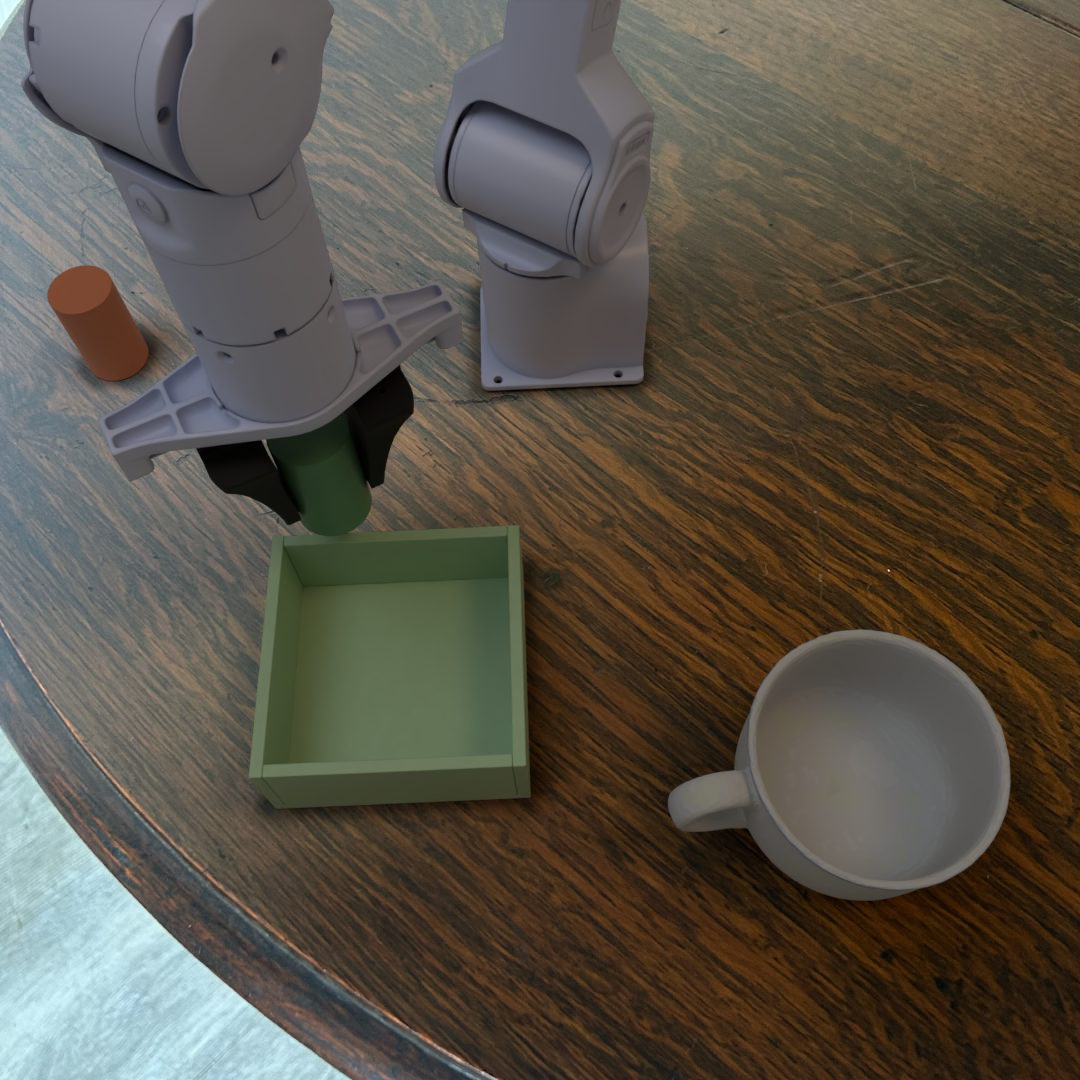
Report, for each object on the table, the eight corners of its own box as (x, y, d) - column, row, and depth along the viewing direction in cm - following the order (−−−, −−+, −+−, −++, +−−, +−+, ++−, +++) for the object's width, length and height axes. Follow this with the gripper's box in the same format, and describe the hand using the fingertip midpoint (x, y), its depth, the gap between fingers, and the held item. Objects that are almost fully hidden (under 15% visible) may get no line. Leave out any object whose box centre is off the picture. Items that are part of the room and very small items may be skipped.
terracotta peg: (152, 332, 66) (116, 263, 61) (144, 379, 65) (106, 312, 59) (94, 335, 66) (53, 266, 61) (84, 382, 65) (41, 315, 59)
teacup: (928, 690, 54) (980, 622, 47) (979, 918, 48) (1047, 880, 41) (647, 702, 54) (657, 636, 47) (667, 931, 48) (682, 895, 41)
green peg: (354, 461, 53) (330, 385, 48) (384, 517, 51) (362, 445, 46) (285, 491, 52) (253, 417, 47) (313, 548, 50) (283, 479, 45)
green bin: (523, 571, 57) (519, 524, 53) (530, 798, 51) (526, 765, 47) (294, 582, 58) (271, 535, 53) (275, 809, 52) (247, 778, 47)
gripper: (394, 147, 42) (434, 368, 54) (26, 285, 39) (154, 487, 51) (474, 266, 39) (497, 473, 50) (79, 426, 36) (202, 606, 47)
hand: (329, 488), depth 50 cm, fingers closed on green peg, 3 cm apart
